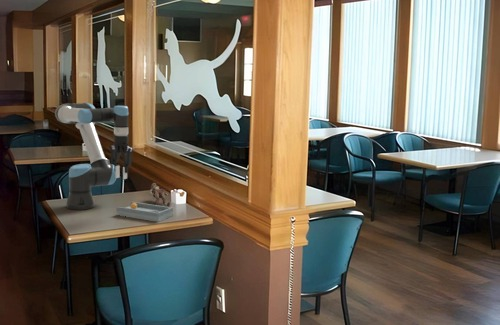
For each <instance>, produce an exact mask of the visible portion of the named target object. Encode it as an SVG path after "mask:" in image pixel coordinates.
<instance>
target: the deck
mask: <svg viewBox="0 0 500 325" xmlns="http://www.w3.org/2000/svg"><path fill="white" fill-rule="evenodd" d="M132 203H136V204H137V208H136V209H132V208H131V204H132ZM173 210H174V208H173V207H172V206H171V207H170V206H169V207H165V206H164V205H159V206H158V205H156V204H151V203H150V204H149V203H143V202H136V201H131V202H130V205H129V206H125V207H124V206H123V207H122V206H116V216H118V215H120V217H125V216H126V218H132V219H139V220H145V221H151V222H156V223H159V222H162V221H164V220H166V219H169V218H171V217H173V215H174V214H173V213H174V211H173Z"/></svg>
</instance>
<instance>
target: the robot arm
mask: <svg viewBox="0 0 500 325" xmlns="http://www.w3.org/2000/svg"><path fill="white" fill-rule="evenodd" d="M129 114H130V112H129V107H128V106H127V105H114V106H113V107H105V108H96V107H95V106H94V105H93V104H92V103H91V102H90V103H88V102H87V103H86V102H82V103H74V102H73V103H63V104H60V105H59V106H58V107H57V108H55V111H54V116H55V119H56V120H57V121H58V122H60V123H63V124H74V125H75V128H77V130H79V131H80V135H81V138H82V140H83V144H84V147H85V150H86V153H87V156H88V159H89V161H90V163H79V164H75V165H72V166H70V168H69V169H68V187H69V188H68V189H69V190H68V191H69V194H68V197H67V200H66V202H65V207H66V208H67V209H69V210H75V211H76V210H79V211H80V210H90V209H93V208H94V207H95V204H96V203H95V200H94V198H93V194H92V188H93V187H94V188H95V187H101V186H102V187H104V186H109V185H114V184H115V182H116V180H117V179H119V178H120V177H121V176H120V175H121V173H120V172H121V171H120V168H121V166H120V164H119V162H120V157H121V156H122V162H123V167H122V179H123V180H126V179H128V173H129V168H130V167H131V166H132V163H133V162H132V161H133V150H134V148H133V147H130V146H129ZM96 123H99V124H100V123H101V124H102V123H113V142H114V144H113V145H110V146H109V150H110V159H108V158H106V155H105V153H104V151H103V147H102V145H101V141H100V138H99V135H98V133H97V129H96V127H95V124H96Z"/></svg>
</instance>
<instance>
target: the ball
mask: <svg viewBox="0 0 500 325" xmlns="http://www.w3.org/2000/svg"><path fill="white" fill-rule="evenodd" d="M130 206H131V208H132V209H136V208H137V204H136V203H132V204H131V203H130Z"/></svg>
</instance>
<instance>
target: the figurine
mask: <svg viewBox="0 0 500 325" xmlns="http://www.w3.org/2000/svg"><path fill="white" fill-rule="evenodd" d="M161 188H162V189H160V186H158V185H157V183H155V182H152V183H151V185H150V190H149V195H150V196H151V197H153V198H155V205H158V206H160V199H161V200H162V204H163V206H165V207H170V205H171V203H170V202H169V201H168V202H167V200H166V196H167V197H168V196H169V194H168V192H165V191H164V189H163V188H164V187H161Z"/></svg>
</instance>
